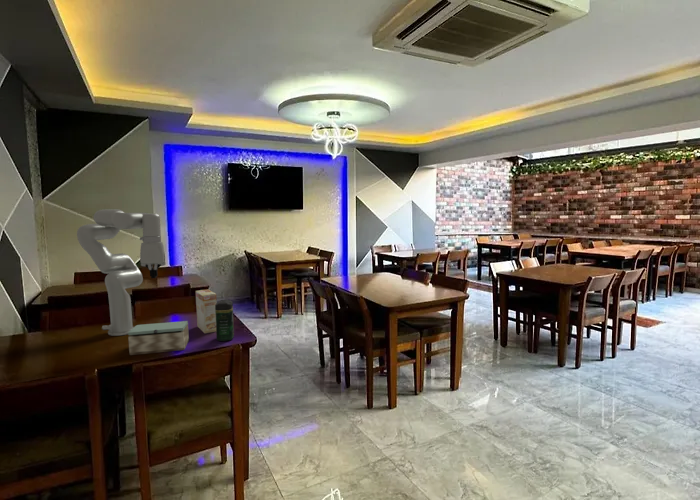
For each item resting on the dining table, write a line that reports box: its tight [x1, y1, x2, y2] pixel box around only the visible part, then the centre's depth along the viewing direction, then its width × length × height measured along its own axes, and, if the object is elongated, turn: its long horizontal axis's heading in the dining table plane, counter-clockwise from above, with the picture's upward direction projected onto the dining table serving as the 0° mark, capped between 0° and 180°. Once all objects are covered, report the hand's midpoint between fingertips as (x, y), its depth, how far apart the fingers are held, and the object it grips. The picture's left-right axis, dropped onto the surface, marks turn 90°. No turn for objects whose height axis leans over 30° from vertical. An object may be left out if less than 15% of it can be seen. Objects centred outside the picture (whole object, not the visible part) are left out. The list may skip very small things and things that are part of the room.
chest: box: [128, 323, 190, 356], centre depth 180 cm, size 22×14×8 cm, turn 104°
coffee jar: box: [215, 299, 235, 342], centre depth 190 cm, size 10×8×19 cm
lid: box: [127, 320, 189, 336], centre depth 179 cm, size 22×15×2 cm
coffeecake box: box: [195, 289, 217, 334], centre depth 206 cm, size 15×7×20 cm, turn 34°
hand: (153, 277), depth 190 cm, fingers closed
